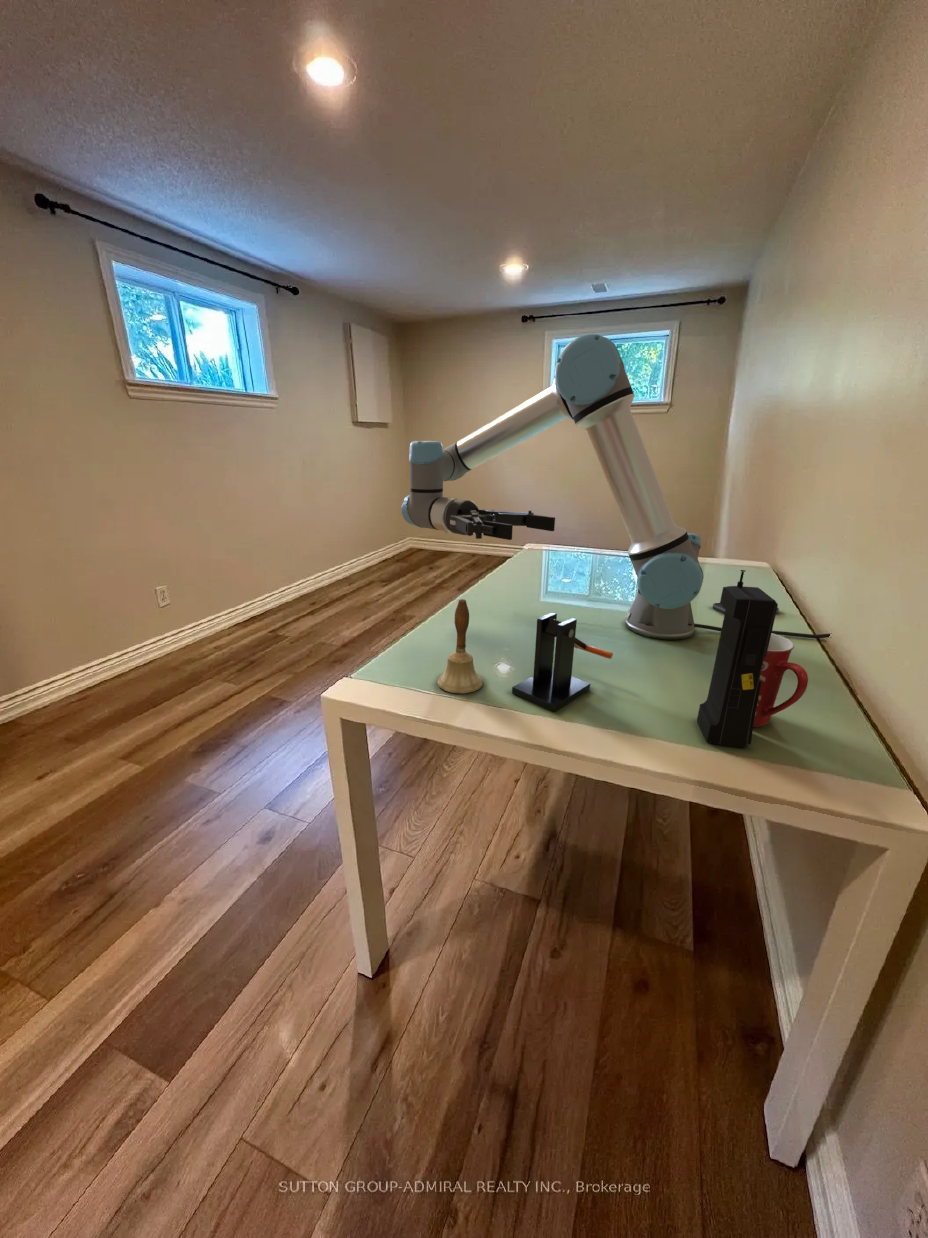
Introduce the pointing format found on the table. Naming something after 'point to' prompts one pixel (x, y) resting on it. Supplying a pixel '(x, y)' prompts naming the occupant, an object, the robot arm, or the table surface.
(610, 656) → the switch lever
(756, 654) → the portable radio
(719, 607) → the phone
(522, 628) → the table surface
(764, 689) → the mug
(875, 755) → the table surface
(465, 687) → the hand bell
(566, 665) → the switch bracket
